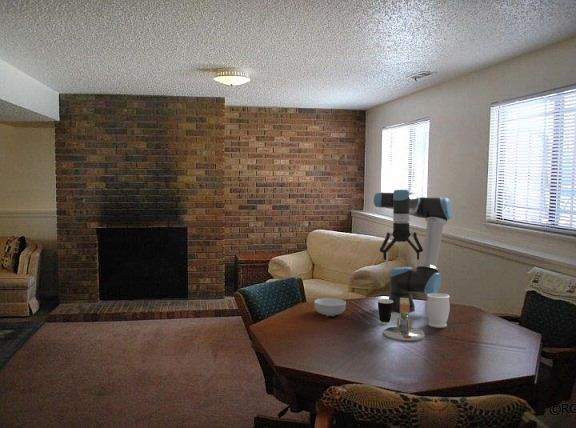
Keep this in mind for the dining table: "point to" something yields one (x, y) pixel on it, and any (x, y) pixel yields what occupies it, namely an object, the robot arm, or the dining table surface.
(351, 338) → the dining table surface
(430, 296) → the jar
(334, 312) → the cereal bowl
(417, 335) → the post base
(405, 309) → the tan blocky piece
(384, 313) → the dixie cup
